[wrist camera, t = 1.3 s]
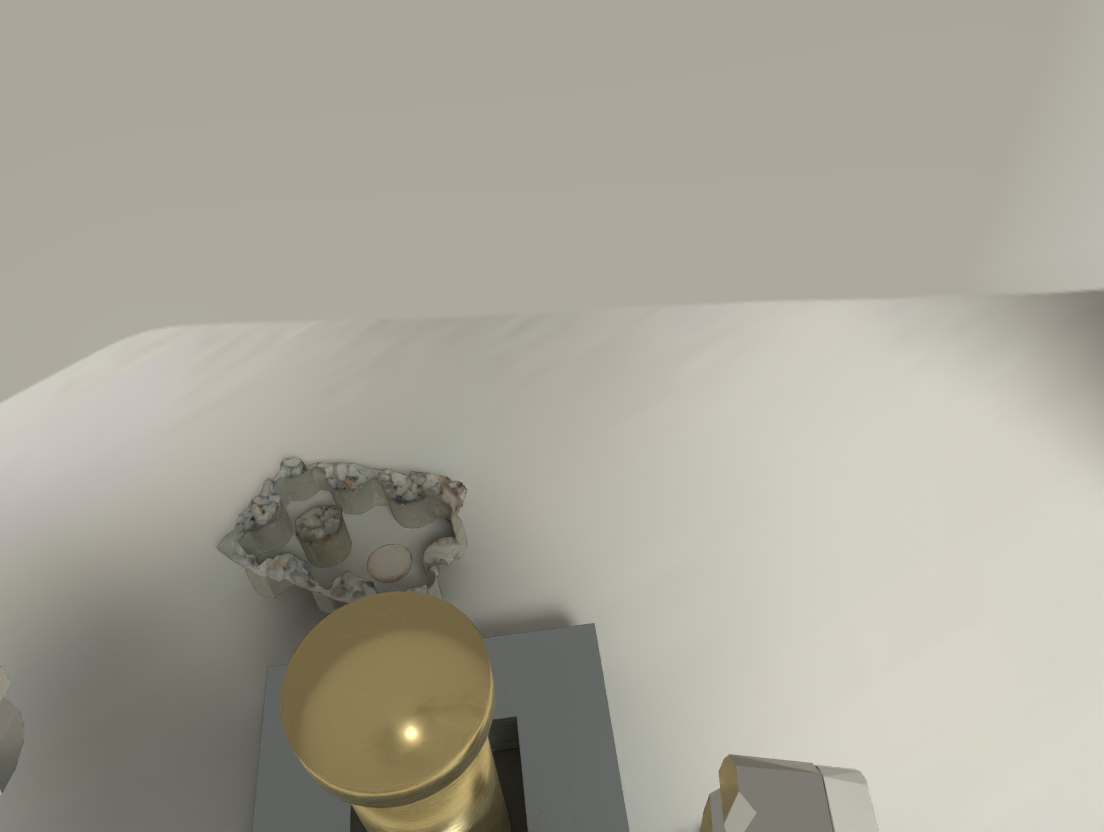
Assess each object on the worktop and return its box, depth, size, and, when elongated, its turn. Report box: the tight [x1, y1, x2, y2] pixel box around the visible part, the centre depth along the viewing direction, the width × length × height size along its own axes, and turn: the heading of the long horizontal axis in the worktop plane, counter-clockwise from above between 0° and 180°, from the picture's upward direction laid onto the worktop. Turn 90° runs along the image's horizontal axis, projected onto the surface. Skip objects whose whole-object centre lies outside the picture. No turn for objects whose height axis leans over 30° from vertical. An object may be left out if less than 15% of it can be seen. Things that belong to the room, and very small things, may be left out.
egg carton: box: [217, 458, 467, 614], centre depth 46 cm, size 11×8×4 cm
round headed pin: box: [280, 591, 511, 832], centre depth 33 cm, size 6×6×14 cm
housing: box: [252, 623, 629, 832], centre depth 37 cm, size 14×14×3 cm
